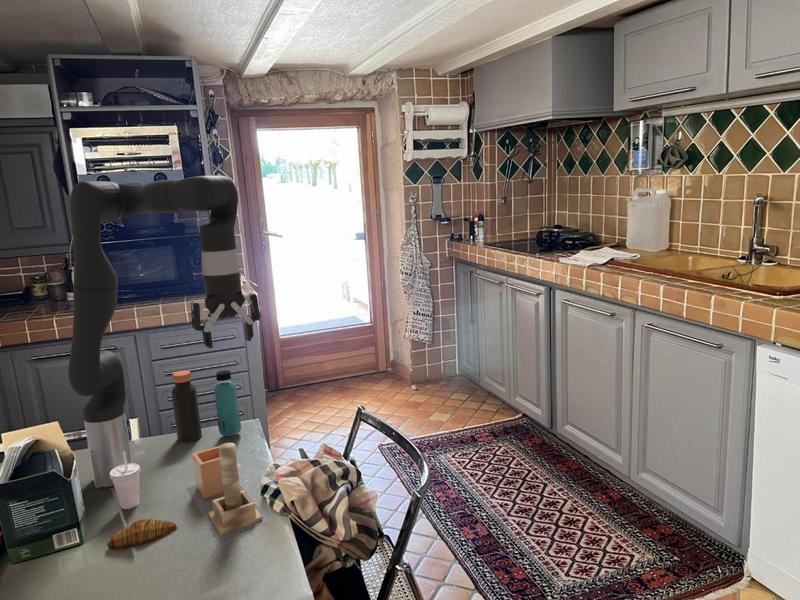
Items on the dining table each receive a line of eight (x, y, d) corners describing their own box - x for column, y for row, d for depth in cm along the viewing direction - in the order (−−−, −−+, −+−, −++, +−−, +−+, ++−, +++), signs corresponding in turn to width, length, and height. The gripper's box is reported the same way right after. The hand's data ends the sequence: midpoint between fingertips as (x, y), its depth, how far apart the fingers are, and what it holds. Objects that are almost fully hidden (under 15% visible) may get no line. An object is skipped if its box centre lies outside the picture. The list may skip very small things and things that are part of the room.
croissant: (106, 560, 116) (102, 537, 115) (109, 541, 122) (105, 520, 121) (178, 541, 121) (175, 519, 120) (177, 524, 127) (174, 503, 126)
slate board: (218, 544, 118) (218, 540, 118) (187, 492, 140) (186, 488, 140) (269, 525, 124) (269, 521, 124) (232, 477, 146) (231, 474, 145)
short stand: (220, 535, 120) (218, 518, 119) (208, 515, 127) (206, 500, 127) (262, 519, 125) (260, 503, 124) (248, 501, 132) (246, 486, 131)
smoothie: (134, 516, 130) (125, 459, 127) (109, 514, 132) (99, 458, 129) (151, 501, 136) (143, 446, 134) (127, 499, 138) (118, 445, 135)
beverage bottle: (245, 431, 173) (238, 367, 169) (237, 441, 167) (229, 375, 163) (224, 431, 174) (217, 367, 170) (215, 441, 167) (207, 375, 163)
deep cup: (204, 500, 134) (200, 464, 132) (196, 488, 139) (192, 453, 138) (234, 490, 137) (230, 455, 136) (225, 479, 143) (221, 445, 141)
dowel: (229, 520, 124) (221, 451, 120) (224, 513, 126) (216, 445, 123) (245, 515, 125) (237, 446, 122) (240, 508, 128) (232, 441, 125)
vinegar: (206, 435, 172) (198, 371, 168) (187, 444, 166) (179, 378, 162) (191, 431, 175) (183, 368, 171) (172, 439, 170) (163, 375, 166)
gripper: (248, 265, 130) (255, 334, 134) (182, 273, 123) (191, 346, 126) (259, 268, 124) (266, 341, 127) (191, 277, 117) (200, 354, 120)
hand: (229, 344), depth 127 cm, fingers open, 8 cm apart
